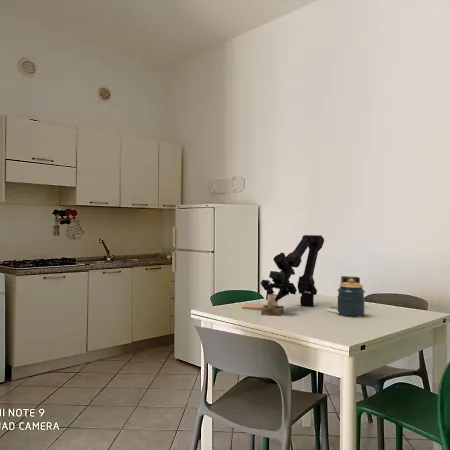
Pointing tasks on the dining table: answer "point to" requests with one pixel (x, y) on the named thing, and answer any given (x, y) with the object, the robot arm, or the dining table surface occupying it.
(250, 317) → the dining table surface
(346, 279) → the coffee box
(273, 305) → the birch peg
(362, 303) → the canister
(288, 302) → the dining table surface
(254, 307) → the terracotta tile
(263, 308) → the walnut pocket block
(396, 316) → the dining table surface
